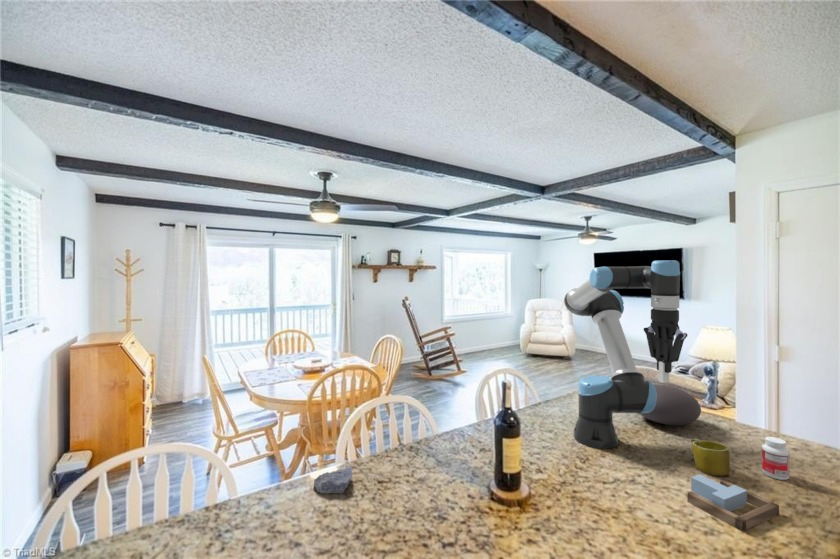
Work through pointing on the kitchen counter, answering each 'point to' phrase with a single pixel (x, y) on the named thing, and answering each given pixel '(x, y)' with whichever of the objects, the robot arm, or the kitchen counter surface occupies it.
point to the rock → (334, 481)
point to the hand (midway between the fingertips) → (663, 381)
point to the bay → (741, 522)
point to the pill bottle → (775, 458)
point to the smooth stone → (673, 406)
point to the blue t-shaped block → (719, 493)
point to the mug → (711, 457)
